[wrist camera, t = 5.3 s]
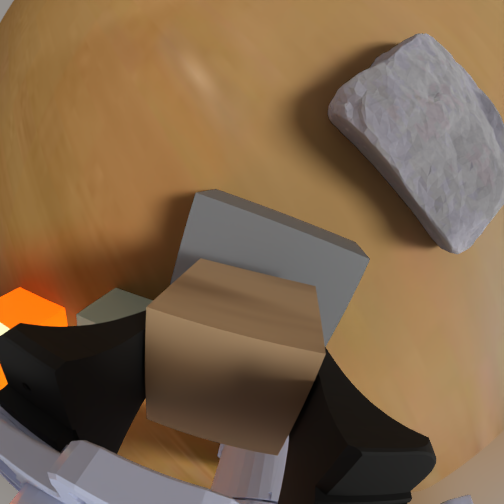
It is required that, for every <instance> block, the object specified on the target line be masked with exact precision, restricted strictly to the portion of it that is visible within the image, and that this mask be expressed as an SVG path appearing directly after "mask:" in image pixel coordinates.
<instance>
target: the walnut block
mask: <svg viewBox="0 0 504 504" xmlns="http://www.w3.org/2000/svg"><path fill="white" fill-rule="evenodd" d="M325 355H326V352H325V345H324V338H323V331H322V324H321V317H320V311H319V305H318V298H317V292H316V286H313V285H308V284H304V283H300V282H296V281H291V280H287V279H283V278H279V277H275V276H270V275H266V274H262V273H258V272H254V271H250V270H246V269H242V268H238V267H234V266H230V265H226V264H222V263H218V262H214V261H210V260H206V259H202V258H200V259H199V260H198V261H197V262H196V263H195V264H194V265H192V266H191V267H190V268H189V269H188V270H187V271H186V272H184V273H183V274H182V275H181V276H180V277H179V278H178V279H177V280H176V281H174V282H173V283H172V284H171V285H170V286H169V287H168V288H167V289H166V290H164V291H163V292H162V293H161V294H160V295H159V296H158V297H157V298H156V299H154V300H153V301H152V302H151V303H150V304H149V305H148V306H147V307H146V331H145V389H146V413H147V419H149V420H151V421H154V422H156V423H159V424H162V425H164V426H167V427H170V428H173V429H175V430H178V431H181V432H184V433H187V434H190V435H194V436H197V437H200V438H203V439H207V440H210V441H214V442H217V443H221V444H225V445H229V446H233V447H237V448H241V449H246V450H250V451H255V452H260V453H265V454H271V455H276V456H278V454H279V452H280V450H281V448H282V447H283V445H284V443H285V441H286V439H287V437H288V435H289V433H290V431H291V429H292V427H293V425H294V423H295V421H296V419H297V417H298V415H299V413H300V411H301V409H302V407H303V405H304V403H305V400H306V398H307V396H308V394H309V392H310V389H311V387H312V385H313V383H314V380H315V378H316V376H317V374H318V371H319V369H320V367H321V364H322V362H323V359H324V357H325Z"/></svg>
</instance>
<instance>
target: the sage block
mask: <svg viewBox="0 0 504 504" xmlns="http://www.w3.org/2000/svg"><path fill="white" fill-rule="evenodd" d="M152 301H153V300H150V299H147V298H144V297H141V296H138V295H135V294H132V293H129V292H126V291H124V290H121V289H118V288H114V289H113V290H111V291H110V292H108V293H107V294H105V295H104V296H102V297H101V298H99V299H98V300H96V301H95V302H94V303H92V304H91V305H89V306H88V307H86V308H85V309H83V310H82V311H80V312H79V313H77V314H76V317H77V326H81V325H92V324H98V323H103V322H108V321H113V320H117V319H120V318H123V317H127V316H130V315H133V314H136V313H139V312H142V311H145V310H146V307H147V306H148V305H149V304H150V303H151V302H152Z"/></svg>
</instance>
